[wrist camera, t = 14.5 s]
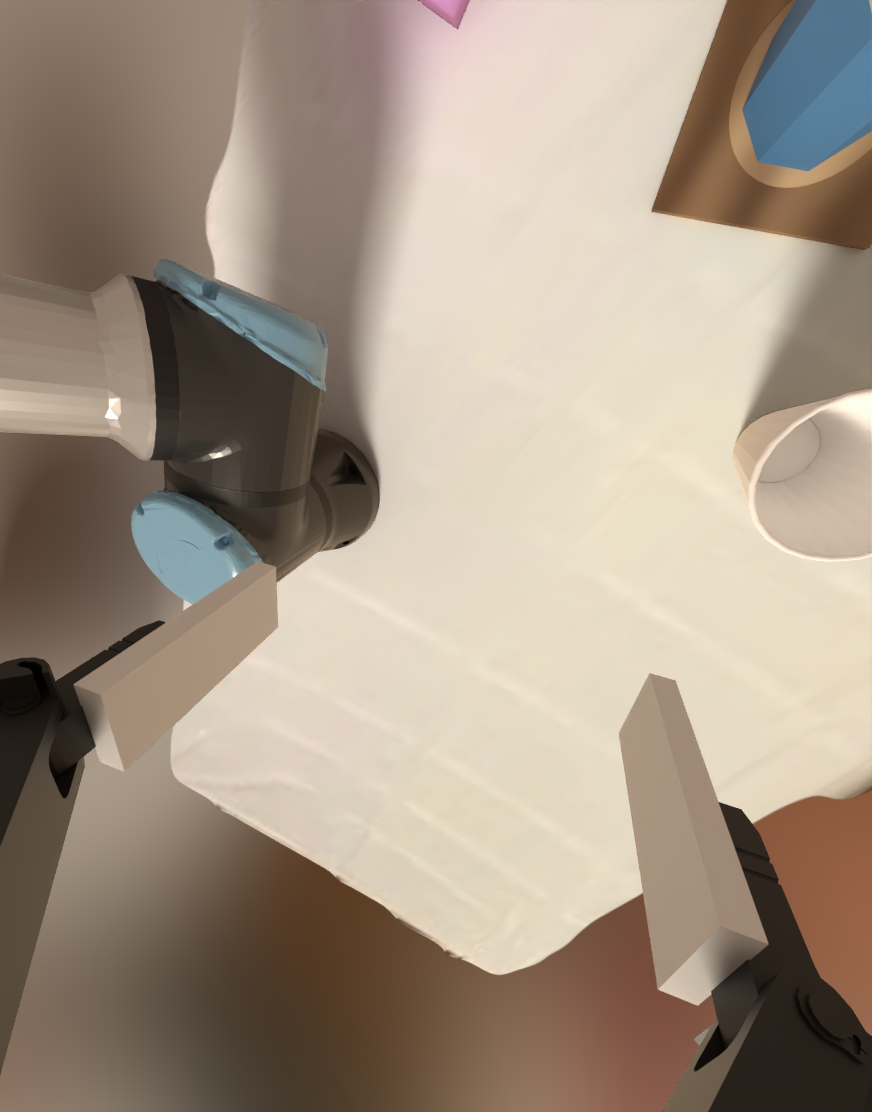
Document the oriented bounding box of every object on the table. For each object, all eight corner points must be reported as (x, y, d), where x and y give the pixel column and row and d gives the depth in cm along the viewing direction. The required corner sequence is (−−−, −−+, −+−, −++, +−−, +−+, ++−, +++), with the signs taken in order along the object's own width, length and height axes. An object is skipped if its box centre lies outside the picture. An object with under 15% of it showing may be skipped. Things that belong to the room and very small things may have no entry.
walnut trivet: (651, 211, 34) (652, 208, 34) (762, -97, 27) (767, -107, 26) (864, 249, 32) (869, 247, 31) (1053, -80, 24) (1065, -91, 24)
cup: (692, 408, 39) (738, 425, 28) (855, 356, 34) (984, 353, 24) (711, 523, 43) (758, 577, 32) (861, 490, 38) (976, 541, 27)
